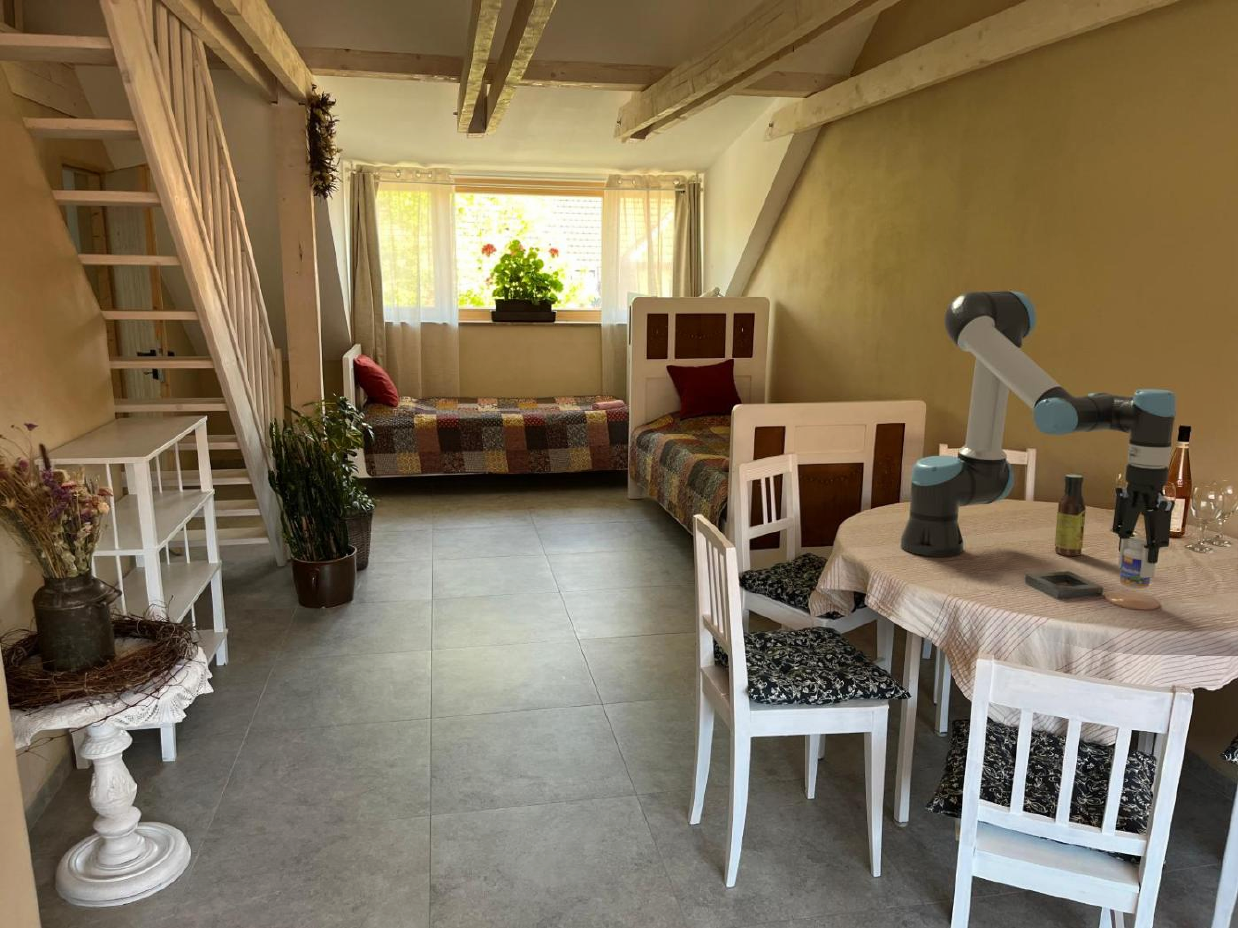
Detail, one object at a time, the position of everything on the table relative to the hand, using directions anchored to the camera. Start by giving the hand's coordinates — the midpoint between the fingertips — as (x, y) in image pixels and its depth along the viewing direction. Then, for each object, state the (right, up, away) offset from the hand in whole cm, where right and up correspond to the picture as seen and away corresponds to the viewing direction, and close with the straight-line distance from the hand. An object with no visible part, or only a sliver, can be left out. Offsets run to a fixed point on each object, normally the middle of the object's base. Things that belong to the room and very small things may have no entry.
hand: (1135, 572), depth 187 cm
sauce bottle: (+3, 0, +35) cm, 35 cm away
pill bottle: (0, -3, +1) cm, 3 cm away
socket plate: (-11, -5, +9) cm, 15 cm away
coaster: (0, -6, +1) cm, 7 cm away
